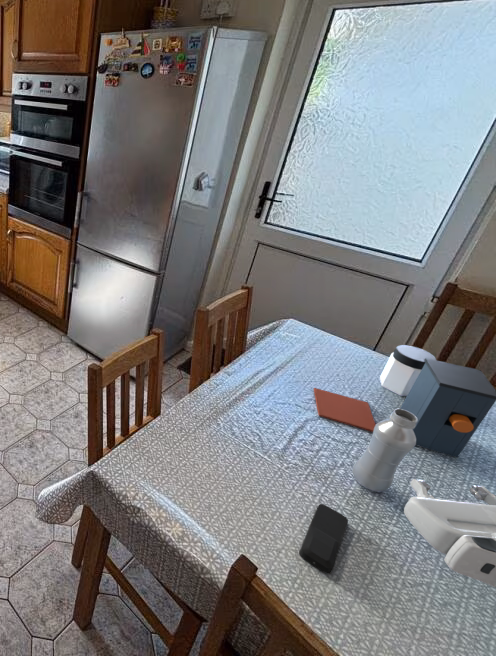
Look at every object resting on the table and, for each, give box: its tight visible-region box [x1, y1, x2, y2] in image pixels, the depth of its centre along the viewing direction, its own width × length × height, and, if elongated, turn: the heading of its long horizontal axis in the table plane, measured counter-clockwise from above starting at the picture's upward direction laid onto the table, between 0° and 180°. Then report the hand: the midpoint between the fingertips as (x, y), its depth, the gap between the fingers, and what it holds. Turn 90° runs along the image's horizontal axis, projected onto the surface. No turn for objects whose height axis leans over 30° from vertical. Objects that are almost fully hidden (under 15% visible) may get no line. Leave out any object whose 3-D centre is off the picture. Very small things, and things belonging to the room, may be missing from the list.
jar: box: [379, 344, 437, 397], centre depth 116 cm, size 9×8×12 cm
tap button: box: [449, 414, 474, 433], centre depth 94 cm, size 3×2×3 cm
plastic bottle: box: [351, 408, 418, 493], centre depth 87 cm, size 6×7×20 cm
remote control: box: [298, 503, 349, 575], centre depth 80 cm, size 5×2×15 cm
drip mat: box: [313, 387, 377, 433], centre depth 111 cm, size 12×12×1 cm
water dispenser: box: [399, 358, 496, 458], centre depth 99 cm, size 10×11×19 cm
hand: (445, 484), depth 74 cm, fingers open, 8 cm apart
